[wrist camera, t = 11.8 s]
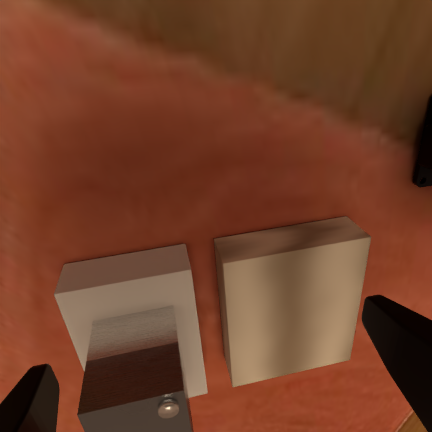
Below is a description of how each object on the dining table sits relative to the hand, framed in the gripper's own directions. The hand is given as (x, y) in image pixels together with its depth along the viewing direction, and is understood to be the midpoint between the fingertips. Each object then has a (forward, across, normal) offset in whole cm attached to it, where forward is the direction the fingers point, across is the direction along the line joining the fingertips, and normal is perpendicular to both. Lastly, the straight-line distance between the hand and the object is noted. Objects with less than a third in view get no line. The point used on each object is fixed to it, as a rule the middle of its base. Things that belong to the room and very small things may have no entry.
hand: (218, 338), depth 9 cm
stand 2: (+13, -7, +11) cm, 18 cm away
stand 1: (+13, +4, +11) cm, 17 cm away
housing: (+10, +4, +11) cm, 15 cm away
